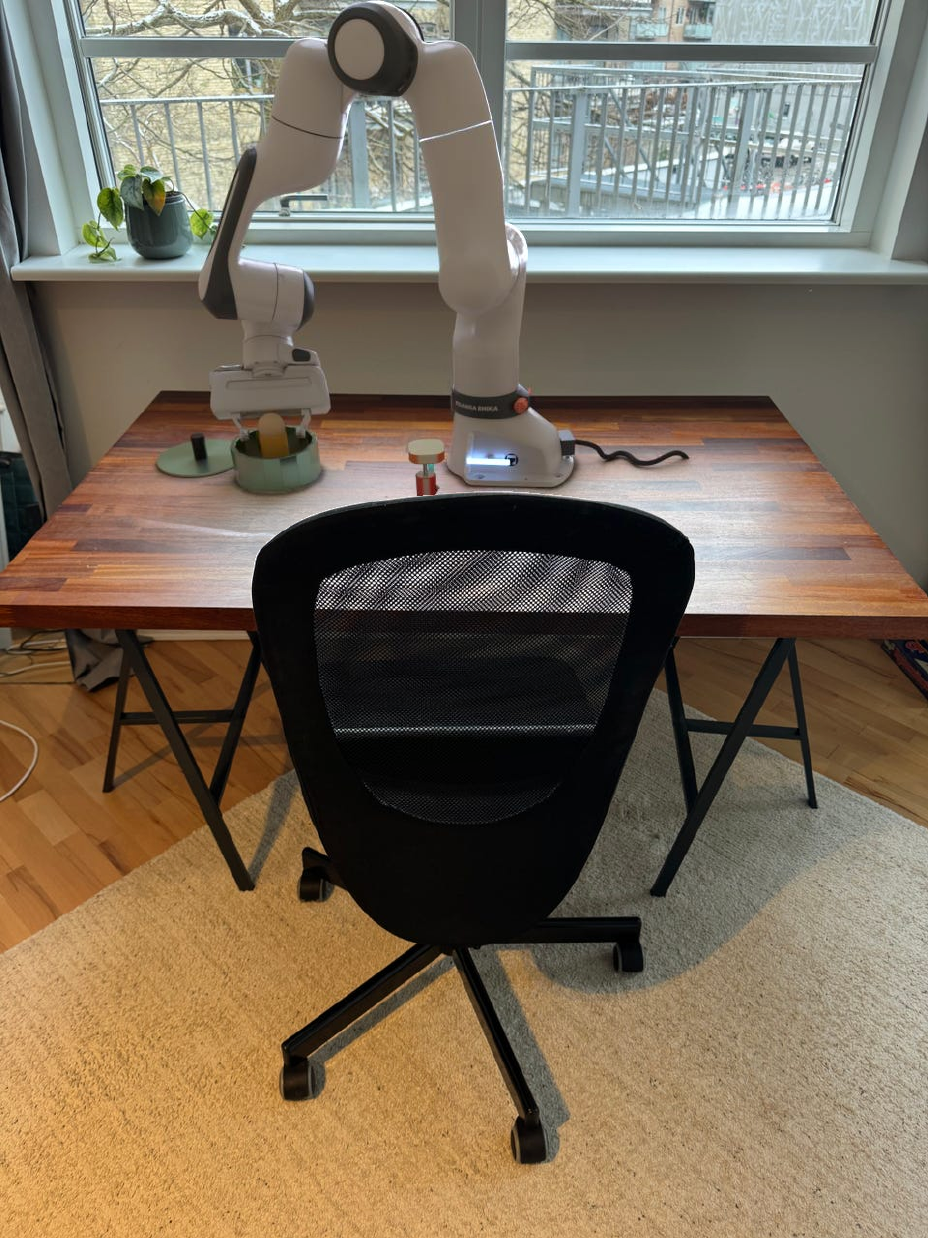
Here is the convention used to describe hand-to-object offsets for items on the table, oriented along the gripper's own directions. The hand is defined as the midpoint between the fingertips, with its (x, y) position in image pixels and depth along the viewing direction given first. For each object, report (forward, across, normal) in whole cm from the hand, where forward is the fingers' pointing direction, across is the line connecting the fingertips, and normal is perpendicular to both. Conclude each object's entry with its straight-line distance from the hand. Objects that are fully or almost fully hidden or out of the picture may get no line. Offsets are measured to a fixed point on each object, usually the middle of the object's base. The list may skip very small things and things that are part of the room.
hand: (272, 438), depth 151 cm
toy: (+4, 0, +5) cm, 7 cm away
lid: (-1, -14, +11) cm, 18 cm away
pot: (+5, 0, +5) cm, 7 cm away
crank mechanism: (+24, +25, -13) cm, 37 cm away
